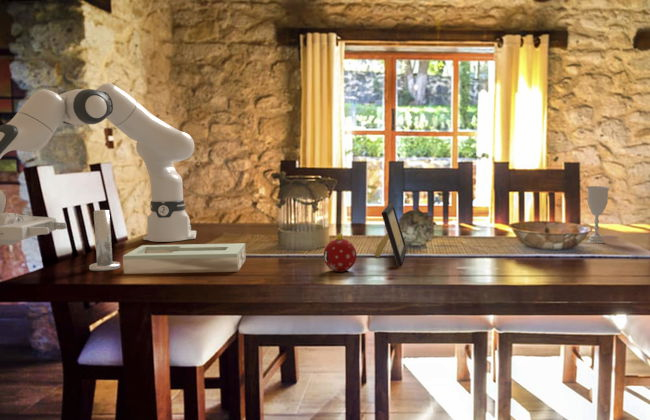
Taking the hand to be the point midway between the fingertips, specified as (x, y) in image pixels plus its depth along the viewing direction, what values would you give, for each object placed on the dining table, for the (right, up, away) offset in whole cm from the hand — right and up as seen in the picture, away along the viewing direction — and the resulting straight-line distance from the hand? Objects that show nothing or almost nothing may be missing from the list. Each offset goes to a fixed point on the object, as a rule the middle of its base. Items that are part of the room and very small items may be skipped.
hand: (57, 228), depth 152 cm
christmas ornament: (+78, -11, -8) cm, 79 cm away
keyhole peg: (+13, -11, +2) cm, 17 cm away
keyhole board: (+36, -11, +2) cm, 37 cm away
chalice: (+162, -6, +29) cm, 165 cm away
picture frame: (+92, -9, +10) cm, 93 cm away
